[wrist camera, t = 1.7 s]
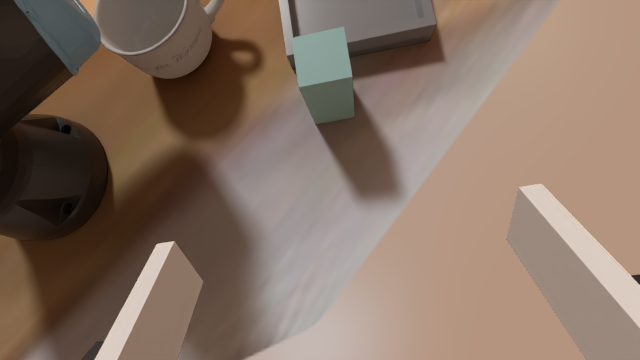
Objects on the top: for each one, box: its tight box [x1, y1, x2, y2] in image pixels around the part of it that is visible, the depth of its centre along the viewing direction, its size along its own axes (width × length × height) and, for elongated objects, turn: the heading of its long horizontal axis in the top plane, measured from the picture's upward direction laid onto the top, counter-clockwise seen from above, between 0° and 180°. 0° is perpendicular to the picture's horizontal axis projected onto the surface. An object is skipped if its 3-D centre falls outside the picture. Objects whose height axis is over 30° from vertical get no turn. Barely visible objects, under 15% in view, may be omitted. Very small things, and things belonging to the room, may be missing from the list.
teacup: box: [94, 0, 224, 79], centre depth 35 cm, size 14×11×8 cm
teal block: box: [292, 27, 355, 124], centre depth 31 cm, size 4×4×10 cm
